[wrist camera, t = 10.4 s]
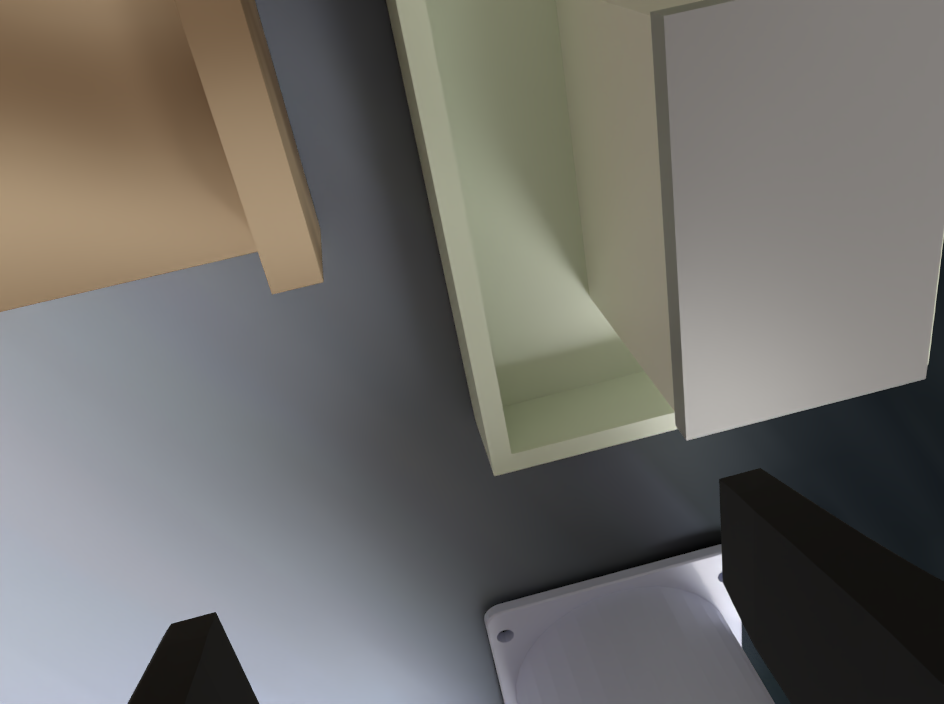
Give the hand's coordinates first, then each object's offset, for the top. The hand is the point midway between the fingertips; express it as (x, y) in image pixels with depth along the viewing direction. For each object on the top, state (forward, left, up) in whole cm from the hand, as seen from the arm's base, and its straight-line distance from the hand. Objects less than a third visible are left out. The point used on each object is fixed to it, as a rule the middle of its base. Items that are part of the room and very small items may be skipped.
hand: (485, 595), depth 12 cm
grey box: (+3, -7, -9) cm, 11 cm away
